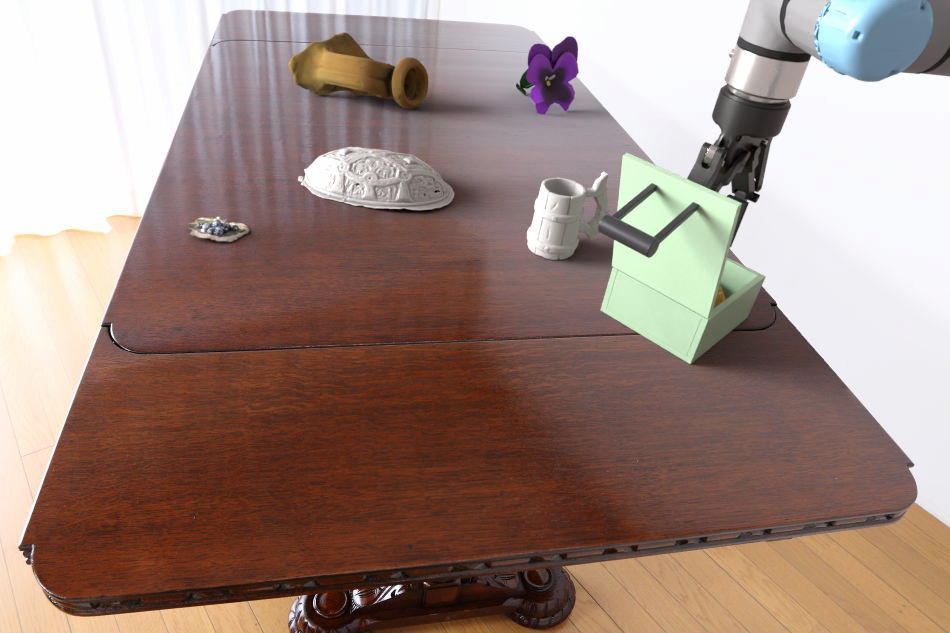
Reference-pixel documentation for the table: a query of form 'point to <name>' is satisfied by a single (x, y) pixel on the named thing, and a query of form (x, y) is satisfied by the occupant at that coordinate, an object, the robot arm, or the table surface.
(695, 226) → the lunchbox lid
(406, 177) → the ornate oval dome
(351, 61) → the brown looped sculpture
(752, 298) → the box
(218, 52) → the table surface
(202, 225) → the blueberries
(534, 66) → the flower
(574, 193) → the mug
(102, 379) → the table surface
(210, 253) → the table surface
